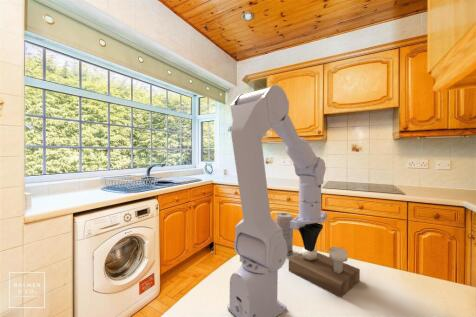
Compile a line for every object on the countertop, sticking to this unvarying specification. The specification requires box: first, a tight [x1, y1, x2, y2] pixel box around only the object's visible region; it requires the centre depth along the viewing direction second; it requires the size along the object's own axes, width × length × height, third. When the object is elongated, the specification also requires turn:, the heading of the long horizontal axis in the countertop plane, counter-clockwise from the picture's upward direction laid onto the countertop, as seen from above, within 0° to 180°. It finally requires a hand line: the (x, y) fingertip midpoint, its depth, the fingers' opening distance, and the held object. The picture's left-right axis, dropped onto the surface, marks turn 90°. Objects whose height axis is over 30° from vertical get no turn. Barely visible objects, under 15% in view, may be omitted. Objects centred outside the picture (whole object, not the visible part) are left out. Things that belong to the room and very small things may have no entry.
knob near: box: [328, 246, 349, 274], centre depth 52 cm, size 4×4×5 cm
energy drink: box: [275, 212, 294, 256], centre depth 69 cm, size 5×5×12 cm
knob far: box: [301, 246, 318, 261], centre depth 58 cm, size 4×4×5 cm
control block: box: [288, 252, 361, 299], centre depth 55 cm, size 10×14×3 cm
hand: (309, 250), depth 58 cm, fingers closed, pressing on knob far
